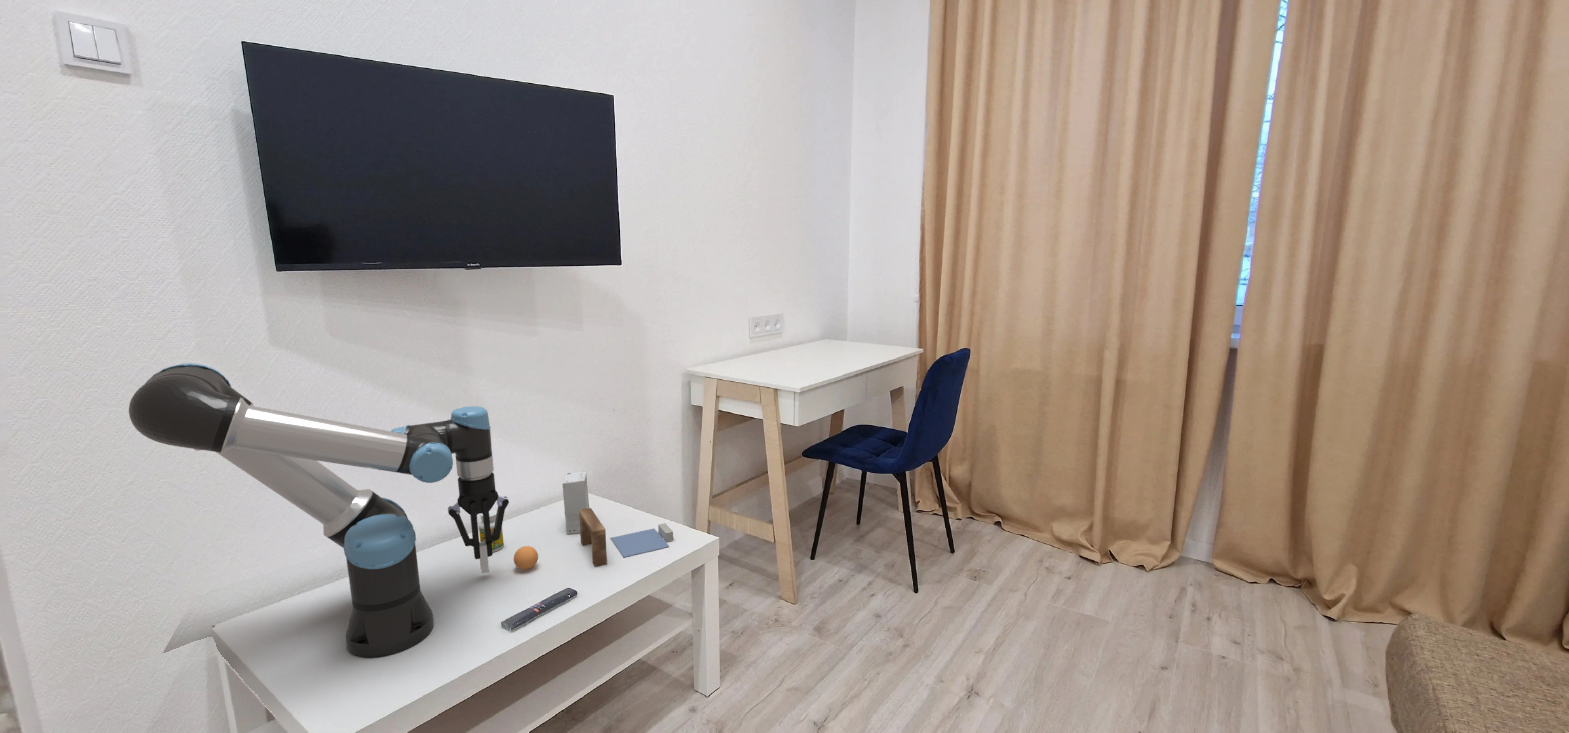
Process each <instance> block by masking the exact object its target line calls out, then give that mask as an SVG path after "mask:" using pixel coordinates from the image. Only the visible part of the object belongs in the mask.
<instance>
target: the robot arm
mask: <svg viewBox="0 0 1569 733" xmlns="http://www.w3.org/2000/svg"><path fill="white" fill-rule="evenodd" d="M128 405H129V407H128V415H129V419H130V421H131V423H132V426H133V427H134V428H135V430H137V432H139V434H141V435H142V436H144V437H146V438H147V439H149V440H152V441H154V442H157V443H161V444H165V445H168V446H173V447H178V448H186V449H193V450H195V451H205V452H206V451H208V452H214V453H216V454H218V455H220V456H221V457H223V459H226V460H227V461H228V462H230V463H231V464H232V465H235V466H236V467H237V468H238V469H240V470H241V471H243V472H245V473H246V474H248V475H249V476H251V477H252V478H253V479H255V480H257V481H258V482H259V483H261V484H263V485H264V486H266V487H267V488H269V489H270V490H272V491H273V492H275V493H276V494H278V495H279V496H280V497H282V498H284V499H285V500H287V501H288V502H290V503H291V504H292V505H294V506H295V507H297V508H298V509H300V511H301V510H302V511H303V512H304V513H306V514H307V515H309V516H310V517H311V518H313V519H315V520H316V521H317V522H320V524H322V525H323V527H322V528H323V529H322V530H323V535H324V536H325V537H326V538H327V539H328V540H330V541H332V542H334V543H335V544H336V545H338V546H340V547H341V548H343V553H344V556H345V558H346V567H347V574H348V580H349V582H348V583H349V589H350V596H351V603H352V610H351V613H350V618H349V621H348V624H347V628H346V633H345V643H346V649H347V650H348V652H349V653H350V654H352V655H354V656H358V657H362V658H363V657H364V658H375V657H376V658H377V657H384V656H388V655H393V654H396V653H399V652H401V651H405V650H407V649H410V648H411V647H413V646H414V645H417V644H418V643H420V642H422V641H423V640H424V639H425V638H427V636H428V635H430V633H432V630H433V629H434V626H435V621H434V613H433V610H432V609H431V607H430V605H429V602H428V601H427V600H426V598H425V596H424V594H423V593H422V591H421V584H420V574H419V573H420V572H419V564H418V558H417V557H418V555H417V549H416V548H417V547H416V541H417V537H416V536H417V535H416V531H415V528H414V525H413V523H412V521H411V520H410V519H409V518H408V515H407V513H406V511H405V510H404V508H403V507H401V505H400V504H399V503H397V502H395V501H394V500H392V499H389V498H388V497H387V498H386V497H381V496H380V495H379V494H377V493H375V492H374V491H373V490H371V489H369V488H367V489H360V490H359V489H356V488H355V487H353V486H352V485H351V484H349V482H347V481H345V480H344V479H343V478H341V477H340V476H338V475H337V474H336V473H335V472H333V471H332V470H330V469H329V468H328V467H326V466H325V465H324V464H322V463H320V462H324V463H331V464H339V465H345V466H352V467H358V468H363V469H371V470H378V471H385V472H391V473H399V474H403V475H408V476H409V475H410V476H413V478H415V479H416V480H418V481H420V482H422V483H426V484H434V483H438V482H440V481H442V480H444V479H445V478H446V477H447V476H448V475H449V474H450V473H451V471H452V470H453V465H454V459H453V454H455V466H456V474H457V477H458V478H457V484H458V494H459V495H458V498H457V502H456V503H454V504H453V505H452V506H451V505H450V506H448V508H447V513H448V515H449V516H450V517H451V518H452V519H453V520H454V522H455V524H456V527H457V529H458V532H459V534H460V537H461V538H462V540H463V544H464V546H465V547H469V546H470V547H472V548H473V556H474V559H475V560H479V562H480V570H481V574H484V573H489V572H490V567H489V559H488V558H489V557H492V556H493V555H494V554H493V553H494V552H492V542H493V541H495V540H499V538H500V534H501V528H502V529H503V522H504V516H505V511H506V508H507V507H508V506H509V503H510V501H509V498H508V496H501V495H499V493H498V491H497V490H496V481H495V479H496V478H495V474H494V458H493V451H492V450H493V449H492V436H491V434H492V433H491V428H492V427H491V426H490V418H489V414H488V413H489V412H488V410H487V409H486V408H485V407H482V406H478V405H477V406H476V405H475V406H474V405H472V406H470V405H469V406H463V407H460V408H456V409H453V410H452V412H451V414H450V419H447V420H442V421H434V422H427V423H420V424H419V423H418V424H412V425H410V424H407V425H405V426H399V427H395V428H393V429H391V430H385V429H380V428H374V427H373V428H372V427H369V426H363V425H357V424H352V423H347V422H341V421H335V420H329V419H325V418H319V417H314V416H308V415H303V414H298V413H291V412H286V411H282V410H276V409H270V408H265V407H264V408H263V407H260V406H259V407H258V406H254V403H253V402H252V401H250V400H249V399H248V398H246V397H245V396H244V395H242V394H241V393H239V392H238V390H236V389H234V388H233V387H232V385H231V382H230V381H229V380H228V379H227V377H225V375H224V374H222V373H221V372H220V371H218V369H215V368H213V367H211V366H208V365H205V364H200V363H192V362H191V363H180V364H175V365H172V366H168V367H166V368H163V369H162V370H159V371H158V372H157V373H154V374H153V375H152V376H151V377H150V378H148V379H147V380H146V382H145V383H144V384H143V385H141V386H140V387H139V388H138V389H137V390H136V392H134V394H133V396H132V397H131V399H130V401H129V404H128ZM495 504H497V508H496V509H497V510H496V511H497V514H496V520H495V525H494V531H493V534H491V529H490V518H489V511H490V510H492V509H493V507H494V505H495ZM461 509H463V511H464V512H466V513H467V514H468V515H469V516H470V528H471V537H472V538H470V536H469V534H468V531H467V529H466V527H465V524H464V522H463V520H462V517H461ZM481 514H483V524H484V534H485V541H483V542H480V534H479V524H478V515H481ZM324 536H323V537H324Z"/></svg>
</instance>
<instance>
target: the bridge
mask: <svg viewBox="0 0 1569 733" xmlns="http://www.w3.org/2000/svg"><path fill="white" fill-rule="evenodd" d="M579 519H580V533H579V535H580V544H581V545H582V546H581V547H583V546H589V545H591V554H592V555H591V558H592V565H593V567H594V568H597V567H601V566H604V565H608V556H607V538H606V536H607V533H606V528H605V527H604V524H602V522H601V521H600V519H599V517H598V516H597V515H596V513H595V511H594V510H593V509H592V508H591V507H589V508H587V509H581V510H579Z"/></svg>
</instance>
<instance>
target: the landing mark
mask: <svg viewBox="0 0 1569 733" xmlns="http://www.w3.org/2000/svg"><path fill="white" fill-rule="evenodd" d="M610 540H611V542H612V543H613V545H614V546H615V547H616V549H617V550H618V552H619V553H620V554H621V556H622V557H623V558H624V559H625V558H629V557H632V556H637V555H641V554H646V553H650V552H654V551H658V550H663V549H667V548H670V545H669V544H668V542H666V541H665V540H664V539H663V538H662V537H661V536H660V534H659V533H658V531H657V530H656V529H655V528H654V527H653V528H649V529H646V530H645V529H644V530H639V531H636V532H632V533H631V532H630V533H626V534H622V535H617V536H613V537H610Z"/></svg>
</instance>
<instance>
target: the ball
mask: <svg viewBox="0 0 1569 733" xmlns="http://www.w3.org/2000/svg"><path fill="white" fill-rule="evenodd" d="M538 561H539V554H538V551H537V550H536V549H535V547H533V546H530V545H524V546H521V547H519V548H518V549H517V550H516V551H515V553H514V555H513V563H514V566H515V567H516V568H518V569H519V570H523V571H524V570H525V571H527V570H530V569H532V568H534V566H535V565H536V564H537V563H538Z"/></svg>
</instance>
